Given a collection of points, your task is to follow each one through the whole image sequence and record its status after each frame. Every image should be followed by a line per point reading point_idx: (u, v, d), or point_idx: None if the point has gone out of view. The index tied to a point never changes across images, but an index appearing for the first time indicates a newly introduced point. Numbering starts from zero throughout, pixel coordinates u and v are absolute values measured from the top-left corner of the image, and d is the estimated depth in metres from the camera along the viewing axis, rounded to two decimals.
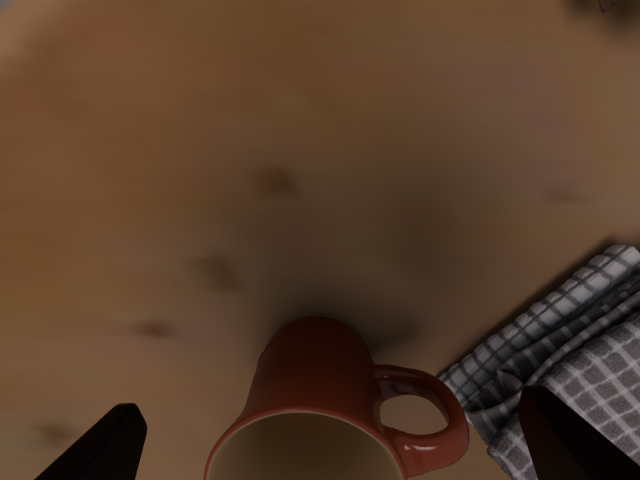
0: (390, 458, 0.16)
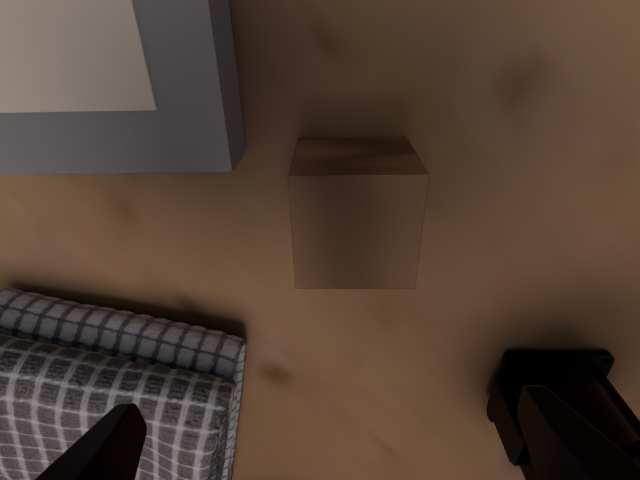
0: None
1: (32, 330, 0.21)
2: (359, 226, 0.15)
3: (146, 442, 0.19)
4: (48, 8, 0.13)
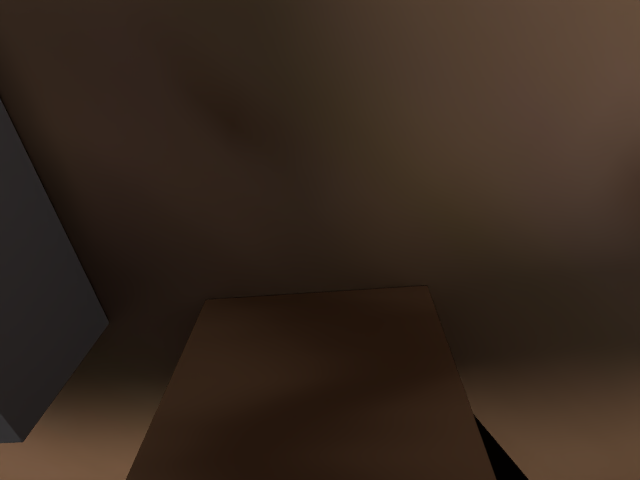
0: None
1: None
2: None
3: None
4: None
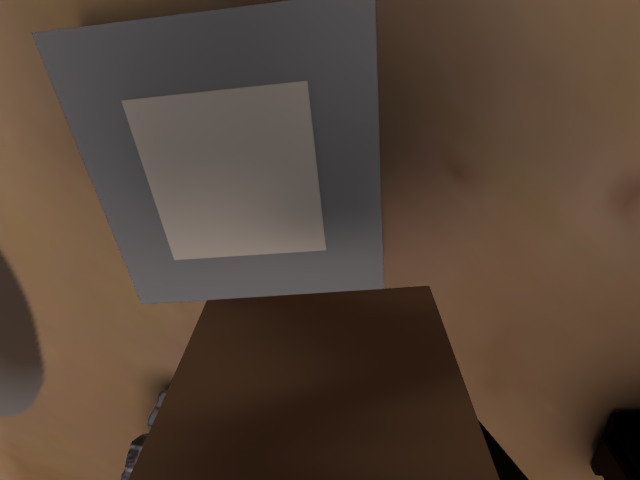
0: None
1: None
2: None
3: None
4: (246, 183, 0.16)
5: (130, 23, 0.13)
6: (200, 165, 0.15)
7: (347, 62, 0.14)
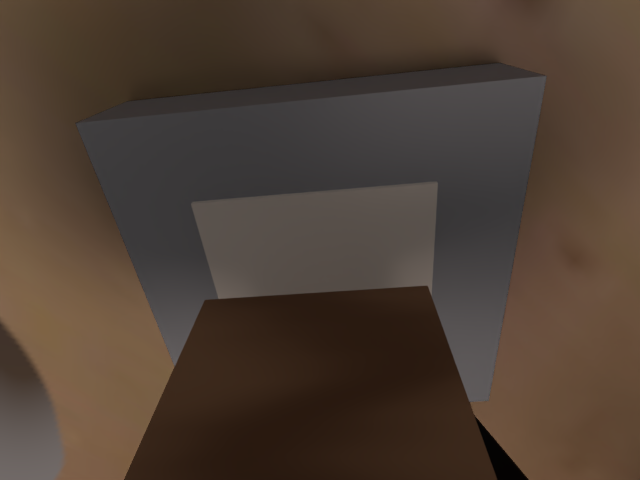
0: None
1: None
2: None
3: None
4: None
5: (211, 113, 0.10)
6: (285, 275, 0.12)
7: (493, 160, 0.10)
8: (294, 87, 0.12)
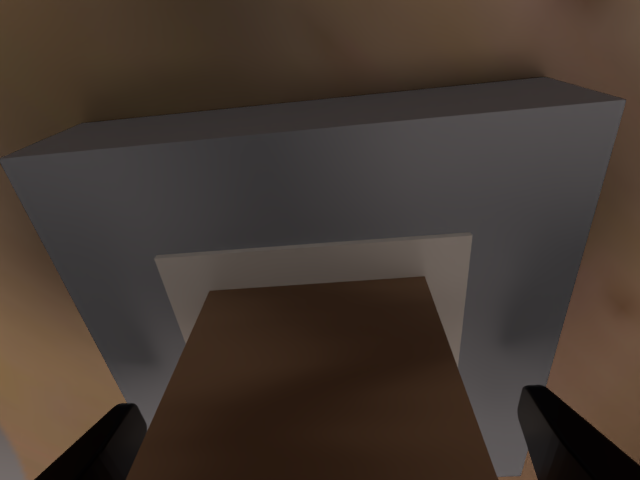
0: None
1: None
2: None
3: None
4: None
5: (175, 146, 0.08)
6: None
7: (545, 207, 0.08)
8: (287, 108, 0.09)
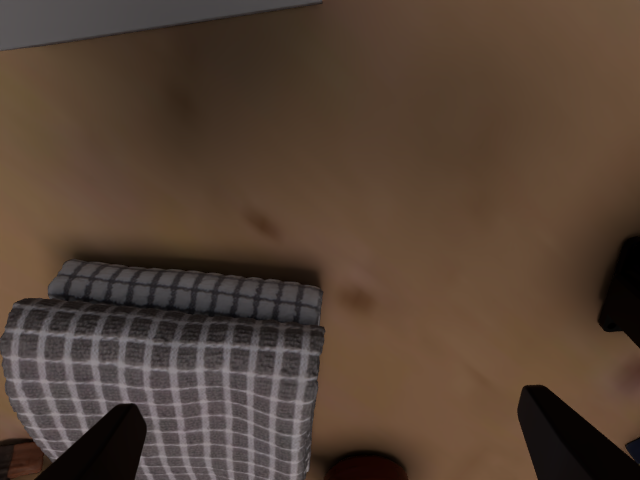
0: None
1: (104, 296, 0.20)
2: None
3: (239, 398, 0.18)
4: None
5: None
6: None
7: None
8: None
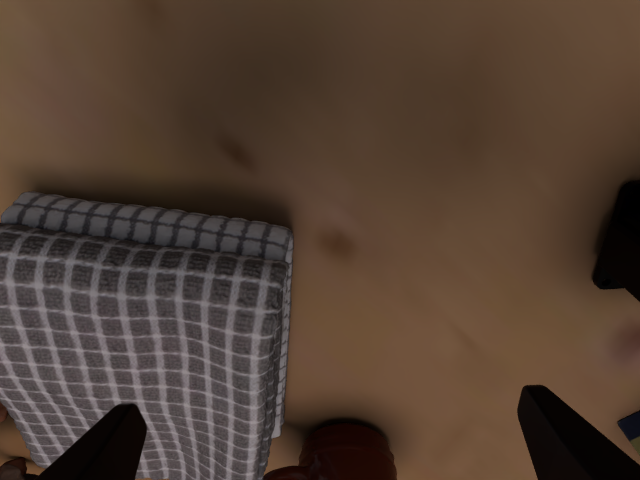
0: None
1: (59, 227, 0.19)
2: None
3: (194, 332, 0.17)
4: None
5: None
6: None
7: None
8: None
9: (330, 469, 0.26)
